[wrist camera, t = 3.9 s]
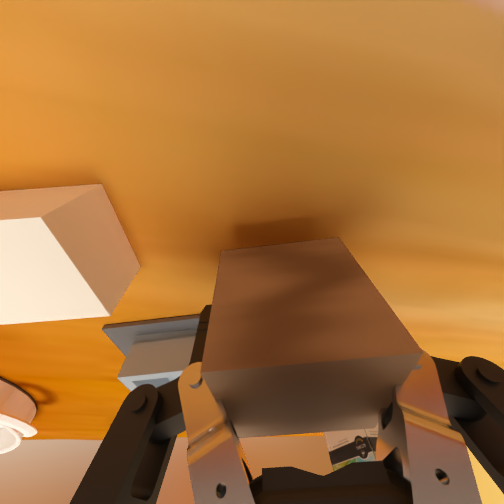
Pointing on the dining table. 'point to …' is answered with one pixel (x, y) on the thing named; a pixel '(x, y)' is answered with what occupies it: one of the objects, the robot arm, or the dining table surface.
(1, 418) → the pan
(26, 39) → the dining table surface
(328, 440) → the tea box
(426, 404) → the robot arm
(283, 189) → the dining table surface
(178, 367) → the grey shallow box
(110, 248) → the cream block
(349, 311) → the walnut block
